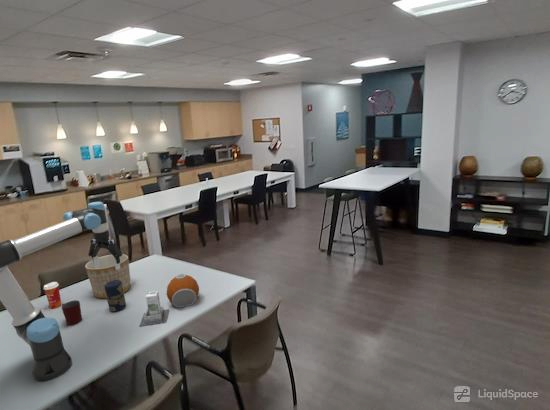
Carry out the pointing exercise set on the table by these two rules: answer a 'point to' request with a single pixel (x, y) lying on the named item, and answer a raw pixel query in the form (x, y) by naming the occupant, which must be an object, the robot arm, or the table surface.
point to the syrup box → (153, 303)
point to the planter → (108, 274)
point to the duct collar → (154, 318)
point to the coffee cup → (53, 294)
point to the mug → (72, 312)
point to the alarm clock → (182, 290)
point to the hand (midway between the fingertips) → (107, 268)
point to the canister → (115, 295)
